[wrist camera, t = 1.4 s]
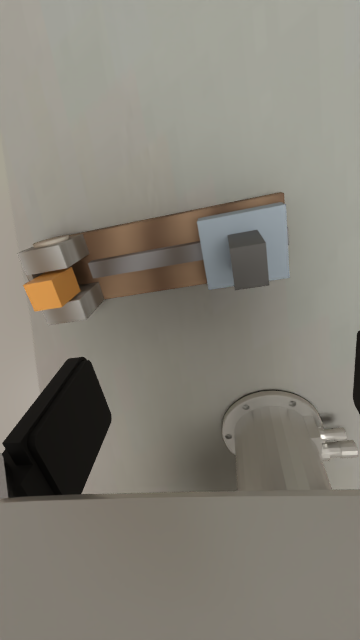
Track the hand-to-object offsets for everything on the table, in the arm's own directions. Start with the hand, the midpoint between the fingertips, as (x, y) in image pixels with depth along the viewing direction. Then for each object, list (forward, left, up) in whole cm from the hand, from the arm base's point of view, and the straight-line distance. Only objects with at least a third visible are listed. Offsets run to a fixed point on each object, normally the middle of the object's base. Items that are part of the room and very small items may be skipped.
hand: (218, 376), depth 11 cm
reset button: (+15, 0, -17) cm, 22 cm away
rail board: (+5, 0, -22) cm, 22 cm away
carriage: (-2, 0, -19) cm, 19 cm away
